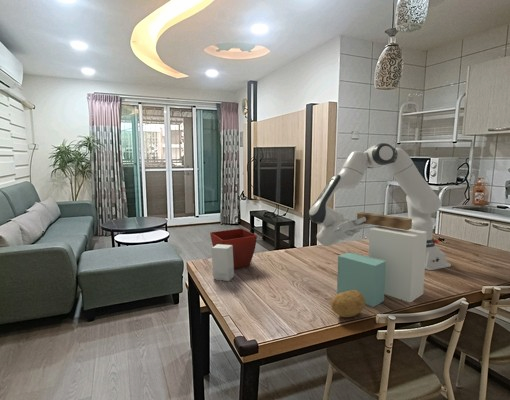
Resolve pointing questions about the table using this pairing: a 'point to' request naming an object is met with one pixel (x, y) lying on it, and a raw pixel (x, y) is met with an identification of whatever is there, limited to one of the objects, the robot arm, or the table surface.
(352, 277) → the teal box
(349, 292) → the potato
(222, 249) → the skincare box
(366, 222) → the rail
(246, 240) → the plant pot
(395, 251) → the stand
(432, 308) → the table surface
